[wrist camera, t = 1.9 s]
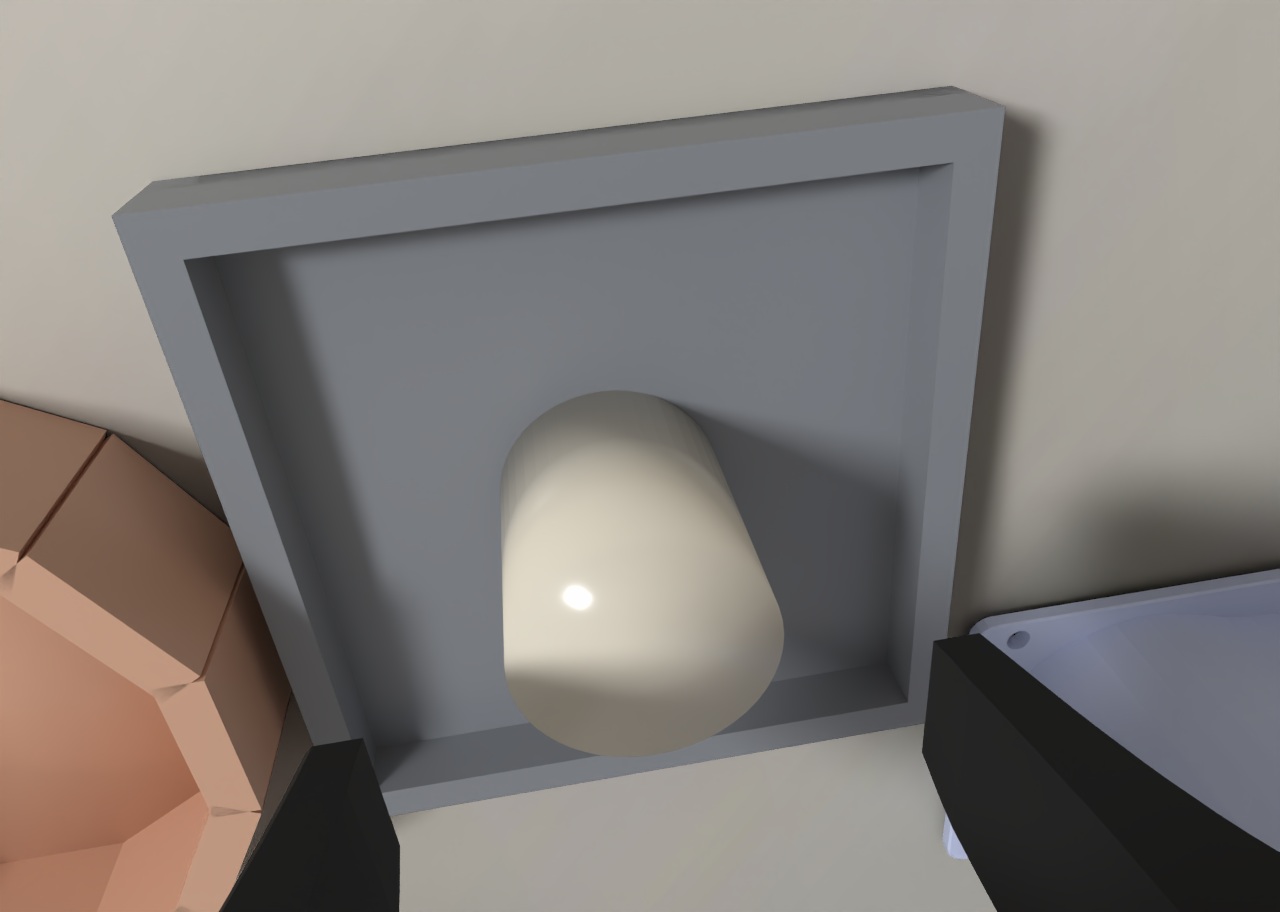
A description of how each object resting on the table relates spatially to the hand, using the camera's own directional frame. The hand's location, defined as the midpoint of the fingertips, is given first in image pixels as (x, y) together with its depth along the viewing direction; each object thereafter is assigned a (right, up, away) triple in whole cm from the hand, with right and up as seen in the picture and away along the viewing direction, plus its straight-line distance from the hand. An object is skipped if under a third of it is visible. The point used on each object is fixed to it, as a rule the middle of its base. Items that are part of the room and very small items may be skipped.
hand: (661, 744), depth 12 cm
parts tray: (-1, +3, +6) cm, 7 cm away
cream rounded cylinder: (-1, +3, +5) cm, 6 cm away
